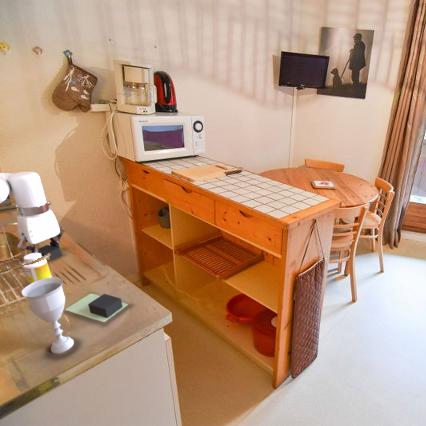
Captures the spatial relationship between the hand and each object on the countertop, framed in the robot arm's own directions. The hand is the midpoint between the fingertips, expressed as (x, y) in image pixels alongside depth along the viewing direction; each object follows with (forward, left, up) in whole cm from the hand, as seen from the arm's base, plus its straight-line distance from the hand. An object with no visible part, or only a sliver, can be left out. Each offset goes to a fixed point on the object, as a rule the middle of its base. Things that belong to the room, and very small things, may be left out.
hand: (48, 255), depth 112 cm
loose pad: (0, 0, 0) cm, 0 cm away
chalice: (+44, -28, -1) cm, 52 cm away
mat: (+39, -15, 0) cm, 42 cm away
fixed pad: (+42, -15, 0) cm, 45 cm away
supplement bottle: (+14, -12, -1) cm, 18 cm away
